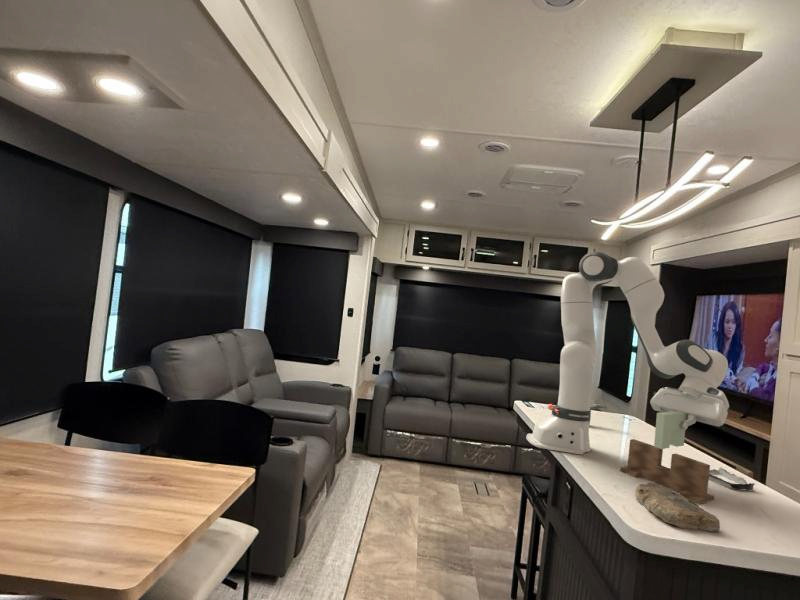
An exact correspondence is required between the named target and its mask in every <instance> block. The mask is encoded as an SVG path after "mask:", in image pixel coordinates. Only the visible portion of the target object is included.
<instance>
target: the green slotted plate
mask: <svg viewBox="0 0 800 600" xmlns="http://www.w3.org/2000/svg"><path fill="white" fill-rule="evenodd" d="M686 414H687V413H683V412H679V411H673V412H656V419H655V420H656V421H655V432H654V442H653V446H654V447H657V448H660V449H663V450H664V449H670V446H673V447H676V448H677V447H684V445H685V436H686V430H685V429H681V428H680V426H679V424H680V422H681V421H686V420H687V418H686Z"/></svg>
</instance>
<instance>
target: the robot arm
mask: <svg viewBox="0 0 800 600" xmlns="http://www.w3.org/2000/svg"><path fill="white" fill-rule="evenodd" d="M578 270H579V272H576V273H570V274H567V275H566V276H565V277H564V278H563V279H562V284H561V292H560V310H561V312H560V314H561V315H560V316H561V317H560V318H561V327H562V333H563V343H564V346H563V347H562V349H561V350H560V358H559V362H560V363H559V389H558V399H557V404H555V405H554V404H552V403H548V404H547V409H548V410H550V411H551V413H550V414H549V415H548V416H546V417H544V418H542V419H540V420H538V421H537V422H536V423H535V425H534V427H533V431H532V433H527V434H526V436H525V437H526V438H525V439H526V440H527V441H528V442H529V443H530V444H531V445H532V446H535V447H536V448H539V449H546V450H552V451H558V452H564V453H569V454H576V455H584V454H585V453H588V452H591V444H590V434H589V433H590V430H589V426H590V424H591V415H592V410H591V411H590V405H591V404H592V390H593V372H594V371H593V370H594V363H595V362H596V359H597V345H596V334H595V321H594V319H595V318H594V303H593V292H594V289H595V288H598V287H600V286H603V285H606V284H609V283H611V282H615V283H616V284H617V285H618V287H620V290H621V291H622V293H623V295H624V296H625V298H626V299H627V303H628V305H629V306H628V307H629V309H630V318H631V323H632V325H633V327H634V330H635V331H636V335H637V336H638V338H639V341H640V343H641V346H642V348H643V350H644V352H645V355H646V360H647V364H648V365H647V366H648V367H649V370H651V371H652V373H653V374H654V375H656V376H657V377H659V378H662V379H665V380H669V379H671V378H674V377H676V376H679V375H681V374H683V375H684V376H685V378H684V379H683V381H682V383H681V384H680V386H679V387H678V388H673V387H670V386H665V387H662V388H659V390H658V391H657V392H656V393H655V394H654V395H653V396H652V397H651V399H650V401H649V402H650V405H651V408H652V409H653V410H654V411H657V412H658V413H661V412H673V411H679V412H683V413H687V414H686V421H681V422H680V424H679V426H680V428H681V429H685V431H686V430H687V429H688V427H689V426H692V425H693V424H694V425H695V424H696V422H699V423H702V424H706V425H710V426H713V427H714V426H715V427H721V426H724V424H725V422H726V421H727V417H728V415H729V414H728V410H729V408H730V404H729V400H728V398H727V396H726V394H725V393H724V391H722V390H720V389H718V387H720V385H722V383H723V381H724V378H725V377H726V375H727V373H728V369H729V362H728V359H727V358H726V356H725V355H723V354H722V353H721V352H719V351H717V350H714V349H706V348H703V346H701V345H700V344H698V343H697V342H696V341H693V340H690V339H681V340H679V341H676V342H674V343H671V344H670V345H667V346H665V345H664V344H663V342H662V339H661V338H660V336H659V333H658V331H657V329H656V327H655V316H656V314H657V313H658V311H659V309H660V308H661V307H662V305H663V303H664V299H665V292H664V289H663V287H662V285H661V283H660V282H659V280H658V279H657V277H656V276H655V274H654V273H653V271H652V270H651V269H650V268H649V267H648V265H646V263H644V261H643V260H642V259H641V258H639V257H637V256H628V257H625V258H623V259H621V260H617V258H615V257H613V256H610V255H609V254H608V253H604V252H603V251H597V250H596V251H591V252H588V253H586V254H585V255H583V256H582V257H581V259H580V261H579V265H578Z"/></svg>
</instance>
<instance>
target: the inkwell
mask: <svg viewBox="0 0 800 600" xmlns="http://www.w3.org/2000/svg"><path fill="white" fill-rule="evenodd" d="M597 409H607V410H608V409H609V408H608V407H607V406H605V405H603V404H599V403H590V411H591V412H592V410H597Z"/></svg>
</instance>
